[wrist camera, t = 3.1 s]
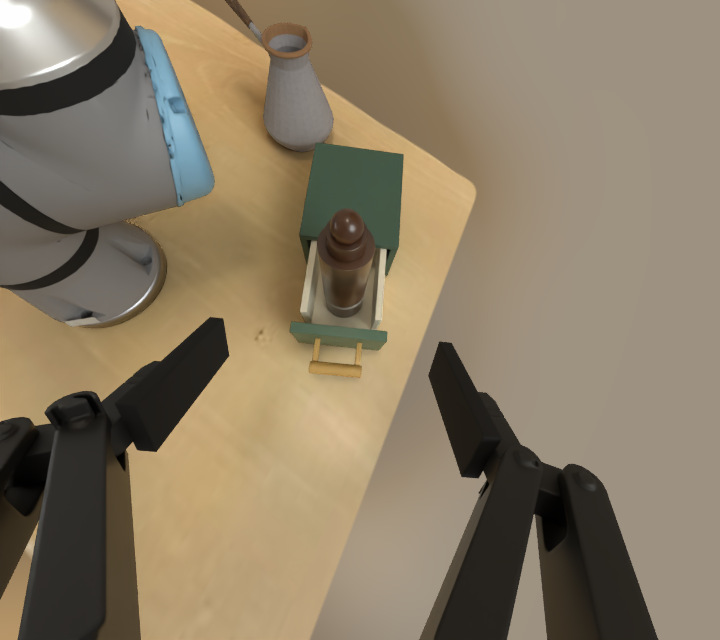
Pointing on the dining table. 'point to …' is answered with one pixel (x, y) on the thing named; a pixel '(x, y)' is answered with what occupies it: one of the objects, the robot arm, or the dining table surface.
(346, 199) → the cabinet
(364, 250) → the pepper mill
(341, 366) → the drawer
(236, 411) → the dining table surface
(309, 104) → the coffee pot
